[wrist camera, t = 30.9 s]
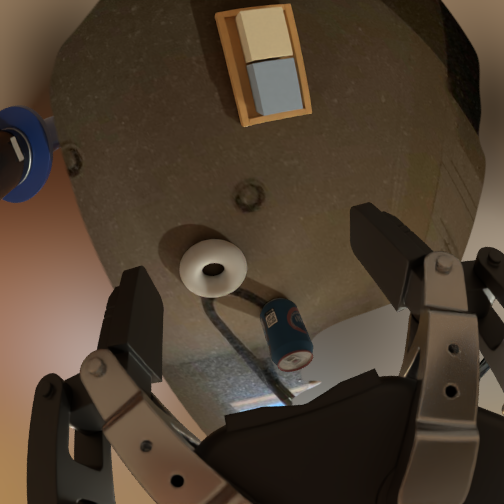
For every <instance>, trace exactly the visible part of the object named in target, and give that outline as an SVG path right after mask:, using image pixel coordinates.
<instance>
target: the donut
mask: <svg viewBox="0 0 504 504" xmlns="http://www.w3.org/2000/svg"><path fill="white" fill-rule="evenodd" d="M210 263H219V264H222V265H223V266H224V268H225V269H224V271H223V272H222V273H221V274H219V275H216V276H208V275H205V274H204V273H203V272H202V269H203V267H204V266H205V265H208V264H210ZM246 272H247V263H246V258H245V257H244V255H243V253H242V252H241V250H240V249H239V248H238V247H236V246H235V245H234V244H232V243H230V242H227V241H225V240H220V239H209V240H204V241H201V242H199V243H197V244H195V245H193V246H191V247H190V248H189V249H188V250H187V251H186V252H185V253H184V255H183V257H182V259H181V262H180V270H179V273H180V276H181V279H182V282H183V283H184V285H185V286H186V287H187V288H188V289H189V290H190V291H192V292H193V293H195V294H196V295H199V296H203V297H211V298H215V297H221V296H225V295H227V294H229V293H232V292H233V291H234V290H236V289H237V288H238V287H239V286H240V285H241V283H242V282H243V281H244V279H245V276H246Z"/></svg>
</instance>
